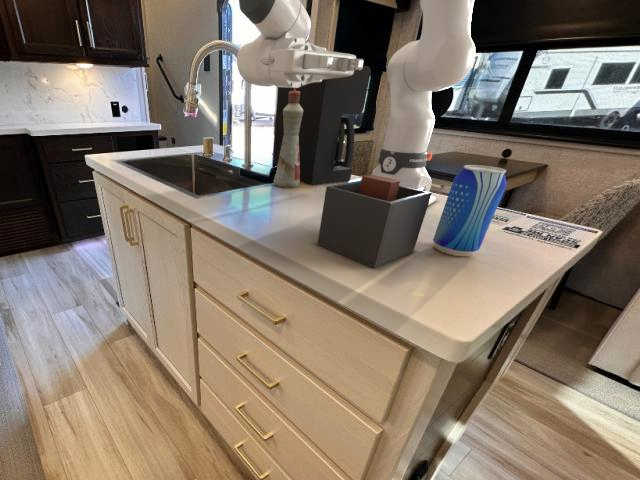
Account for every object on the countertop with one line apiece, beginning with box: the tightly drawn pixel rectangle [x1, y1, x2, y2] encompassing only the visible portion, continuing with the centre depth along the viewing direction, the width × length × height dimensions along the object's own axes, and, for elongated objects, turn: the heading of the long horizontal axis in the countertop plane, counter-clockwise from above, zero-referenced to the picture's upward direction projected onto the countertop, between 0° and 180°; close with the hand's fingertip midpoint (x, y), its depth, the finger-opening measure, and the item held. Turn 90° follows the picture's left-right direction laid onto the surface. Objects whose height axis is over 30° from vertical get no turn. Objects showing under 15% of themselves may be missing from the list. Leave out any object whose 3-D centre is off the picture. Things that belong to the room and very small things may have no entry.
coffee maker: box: [271, 65, 371, 186], centre depth 118 cm, size 28×20×35 cm
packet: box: [359, 174, 400, 202], centre depth 65 cm, size 3×6×13 cm, turn 38°
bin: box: [317, 179, 433, 269], centre depth 66 cm, size 14×14×12 cm
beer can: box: [432, 164, 508, 257], centre depth 66 cm, size 8×8×16 cm
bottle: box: [273, 89, 303, 189], centre depth 108 cm, size 9×9×28 cm
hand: (346, 63), depth 63 cm, fingers open, 8 cm apart
